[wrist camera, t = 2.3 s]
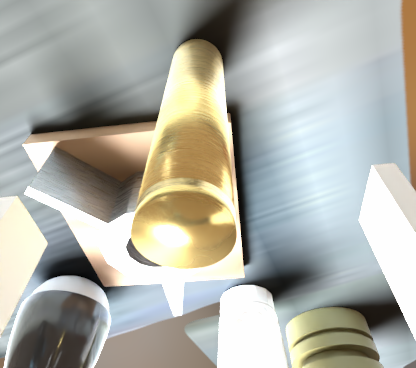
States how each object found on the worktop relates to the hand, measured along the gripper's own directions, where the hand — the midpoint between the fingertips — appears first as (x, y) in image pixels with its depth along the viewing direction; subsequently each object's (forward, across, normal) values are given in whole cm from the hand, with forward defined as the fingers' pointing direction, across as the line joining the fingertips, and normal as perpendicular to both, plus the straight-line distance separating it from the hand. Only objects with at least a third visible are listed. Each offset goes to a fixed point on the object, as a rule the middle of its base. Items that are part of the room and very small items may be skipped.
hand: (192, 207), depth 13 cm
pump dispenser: (+15, -19, -26) cm, 35 cm away
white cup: (+15, +2, -30) cm, 34 cm away
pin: (+14, 0, 0) cm, 14 cm away
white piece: (+13, -7, -13) cm, 19 cm away
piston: (+15, +13, -40) cm, 44 cm away
